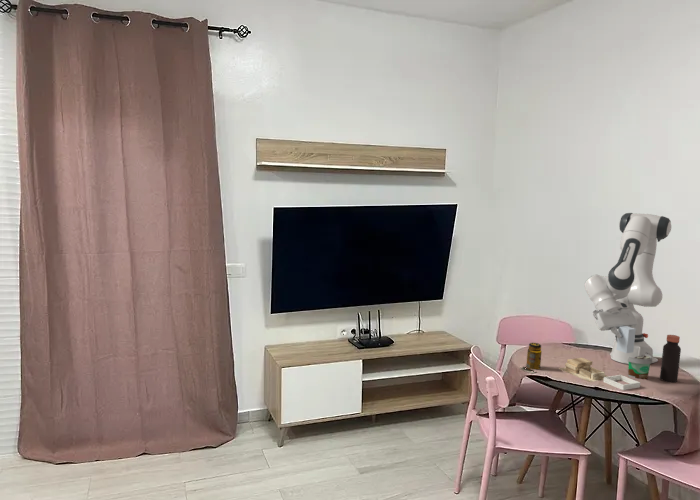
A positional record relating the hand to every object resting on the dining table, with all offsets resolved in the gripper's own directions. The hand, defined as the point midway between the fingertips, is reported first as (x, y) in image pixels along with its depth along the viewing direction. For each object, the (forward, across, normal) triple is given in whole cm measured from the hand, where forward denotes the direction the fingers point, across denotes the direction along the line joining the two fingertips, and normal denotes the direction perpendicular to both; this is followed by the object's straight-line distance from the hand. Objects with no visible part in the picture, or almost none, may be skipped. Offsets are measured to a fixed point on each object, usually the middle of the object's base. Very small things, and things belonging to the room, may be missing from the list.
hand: (625, 337), depth 242 cm
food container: (+13, +17, +18) cm, 28 cm away
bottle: (+16, +28, +14) cm, 35 cm away
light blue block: (+4, 0, +4) cm, 6 cm away
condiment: (-6, -22, +36) cm, 43 cm away
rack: (+4, -4, +26) cm, 27 cm away
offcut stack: (+1, -4, +28) cm, 29 cm away
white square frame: (+15, 0, +15) cm, 22 cm away
